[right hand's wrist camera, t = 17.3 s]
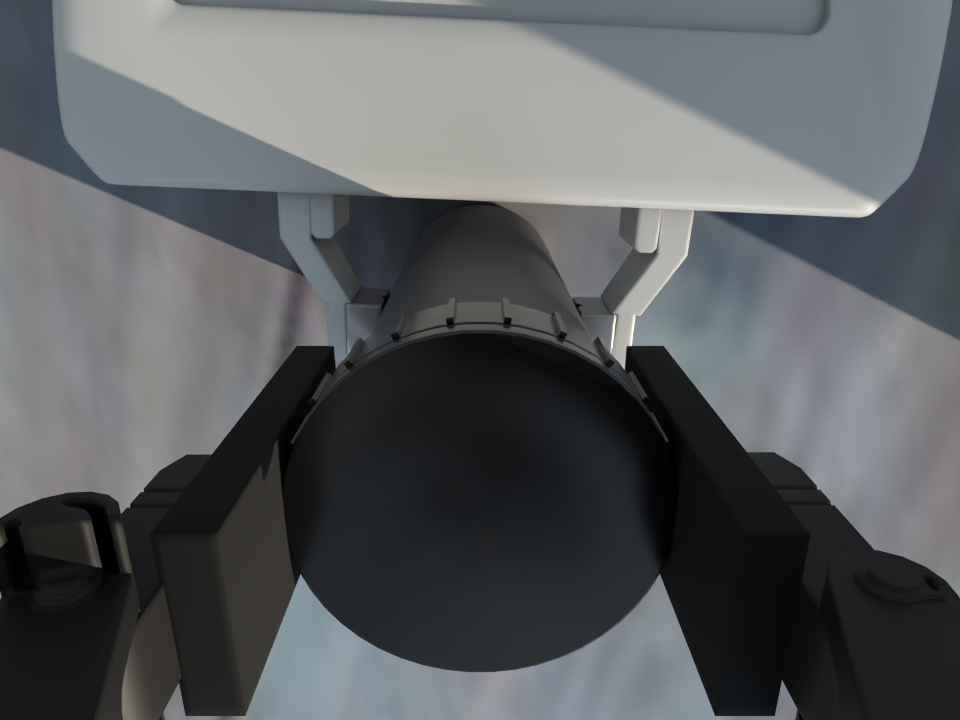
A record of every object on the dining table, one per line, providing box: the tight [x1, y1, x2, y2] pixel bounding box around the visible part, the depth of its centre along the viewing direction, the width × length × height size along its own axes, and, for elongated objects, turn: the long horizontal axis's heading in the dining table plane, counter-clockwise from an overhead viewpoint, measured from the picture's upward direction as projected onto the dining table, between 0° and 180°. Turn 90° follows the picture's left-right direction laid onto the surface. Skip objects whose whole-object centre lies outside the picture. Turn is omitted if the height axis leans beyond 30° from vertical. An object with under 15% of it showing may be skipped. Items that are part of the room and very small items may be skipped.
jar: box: [371, 204, 590, 336], centre depth 18 cm, size 5×5×15 cm
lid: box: [282, 298, 678, 672], centre depth 11 cm, size 6×6×2 cm
